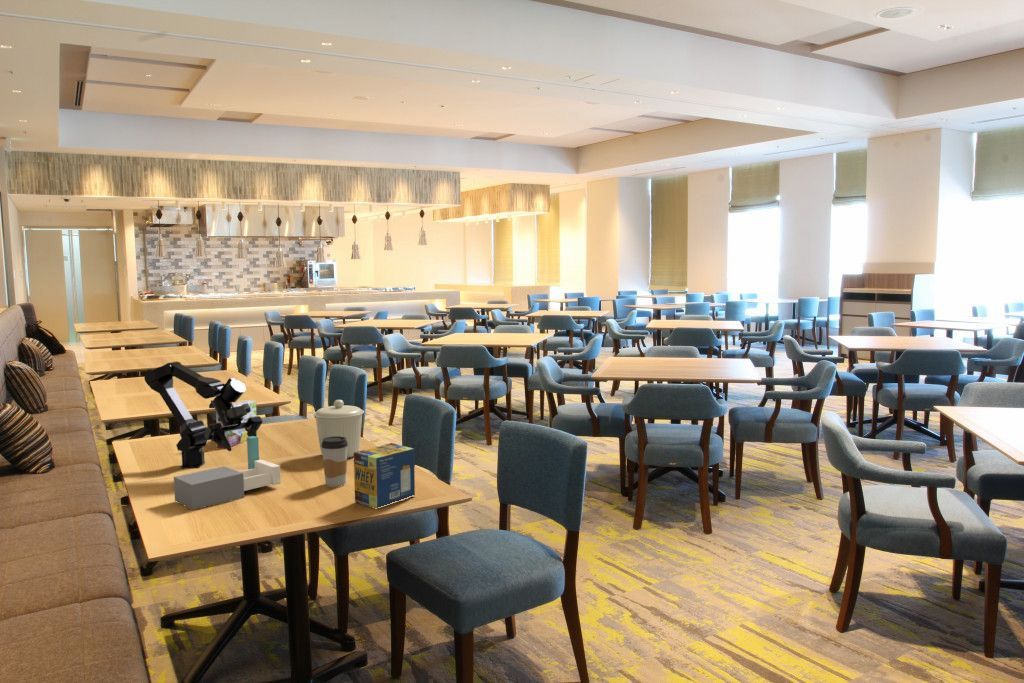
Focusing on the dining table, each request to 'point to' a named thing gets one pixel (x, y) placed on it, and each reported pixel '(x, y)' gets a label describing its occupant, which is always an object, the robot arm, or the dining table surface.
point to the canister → (340, 424)
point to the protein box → (384, 474)
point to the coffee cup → (335, 460)
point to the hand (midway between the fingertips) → (243, 448)
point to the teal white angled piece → (259, 468)
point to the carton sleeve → (209, 487)
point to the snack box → (240, 434)
